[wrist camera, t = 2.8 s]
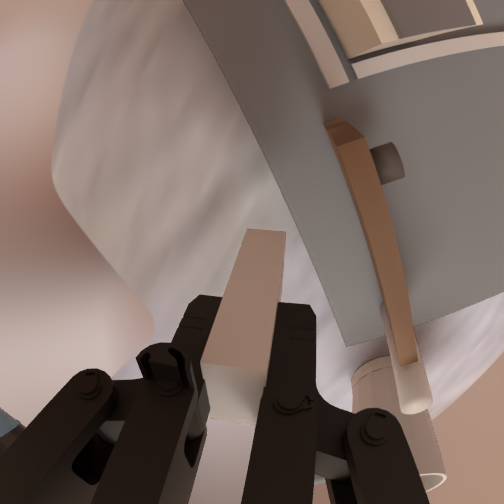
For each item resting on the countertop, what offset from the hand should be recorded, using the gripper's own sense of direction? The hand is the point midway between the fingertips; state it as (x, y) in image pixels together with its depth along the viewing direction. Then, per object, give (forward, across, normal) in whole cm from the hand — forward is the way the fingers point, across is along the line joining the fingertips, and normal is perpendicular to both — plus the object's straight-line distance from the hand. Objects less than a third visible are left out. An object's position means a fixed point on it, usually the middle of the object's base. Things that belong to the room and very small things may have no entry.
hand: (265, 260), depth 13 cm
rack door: (+5, +6, 0) cm, 8 cm away
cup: (+8, +11, -17) cm, 22 cm away
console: (+8, +11, +6) cm, 15 cm away
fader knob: (+6, +4, +11) cm, 13 cm away
